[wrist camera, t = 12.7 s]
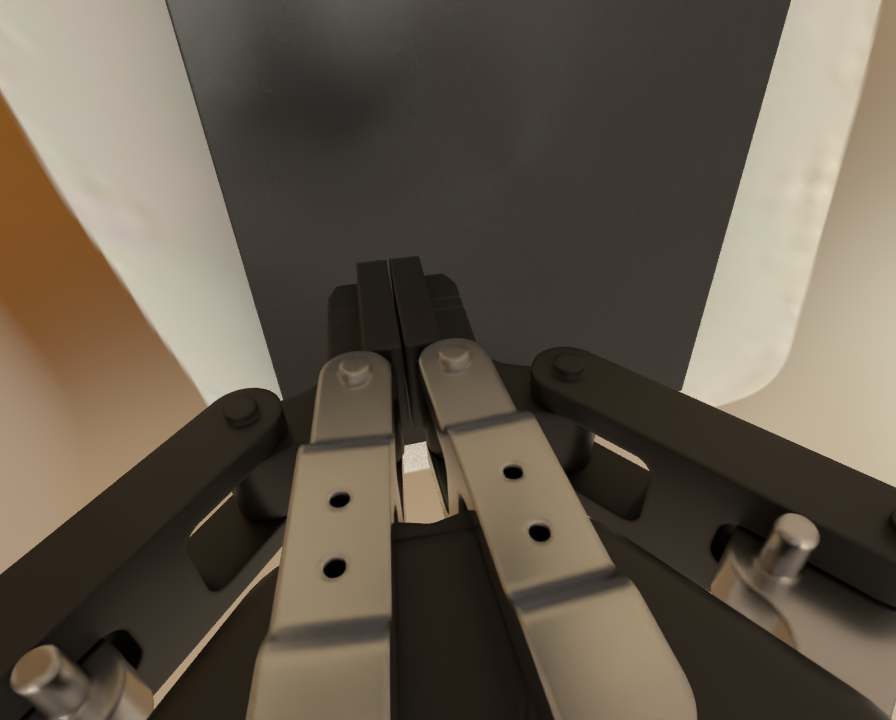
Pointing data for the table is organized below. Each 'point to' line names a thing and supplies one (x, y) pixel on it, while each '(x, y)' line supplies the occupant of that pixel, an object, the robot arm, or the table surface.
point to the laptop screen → (484, 160)
